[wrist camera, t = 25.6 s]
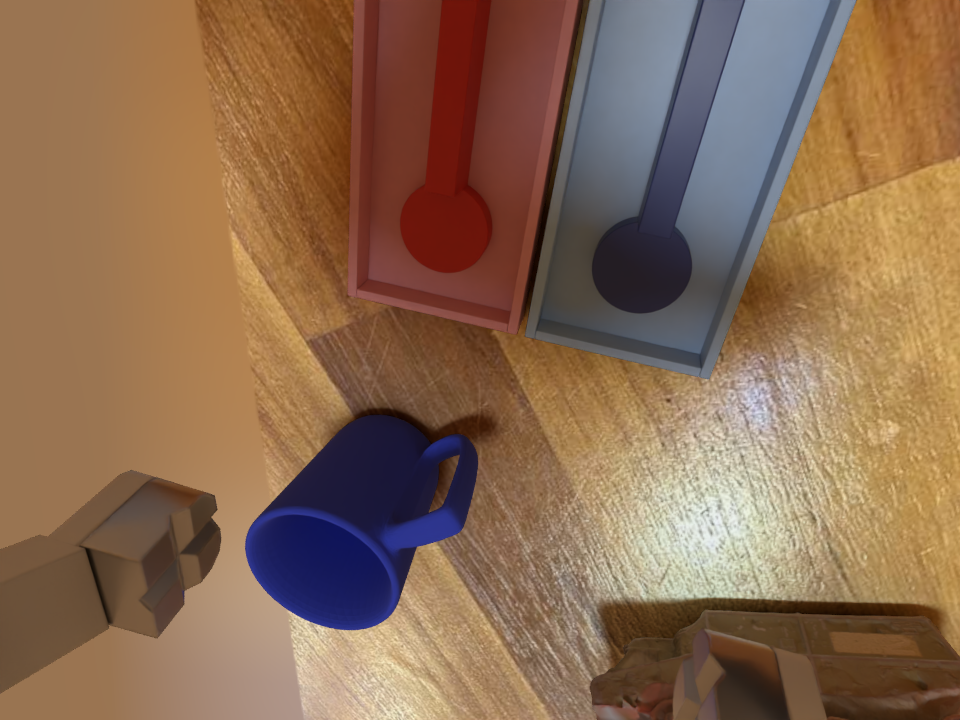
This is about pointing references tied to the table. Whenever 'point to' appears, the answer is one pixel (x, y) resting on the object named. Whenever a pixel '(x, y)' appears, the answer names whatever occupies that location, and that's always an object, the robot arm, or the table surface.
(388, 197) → the pink tray
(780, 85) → the blue tray
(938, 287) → the table surface
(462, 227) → the red spoon
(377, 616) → the mug
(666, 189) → the blue spoon
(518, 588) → the table surface
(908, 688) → the decorative box
